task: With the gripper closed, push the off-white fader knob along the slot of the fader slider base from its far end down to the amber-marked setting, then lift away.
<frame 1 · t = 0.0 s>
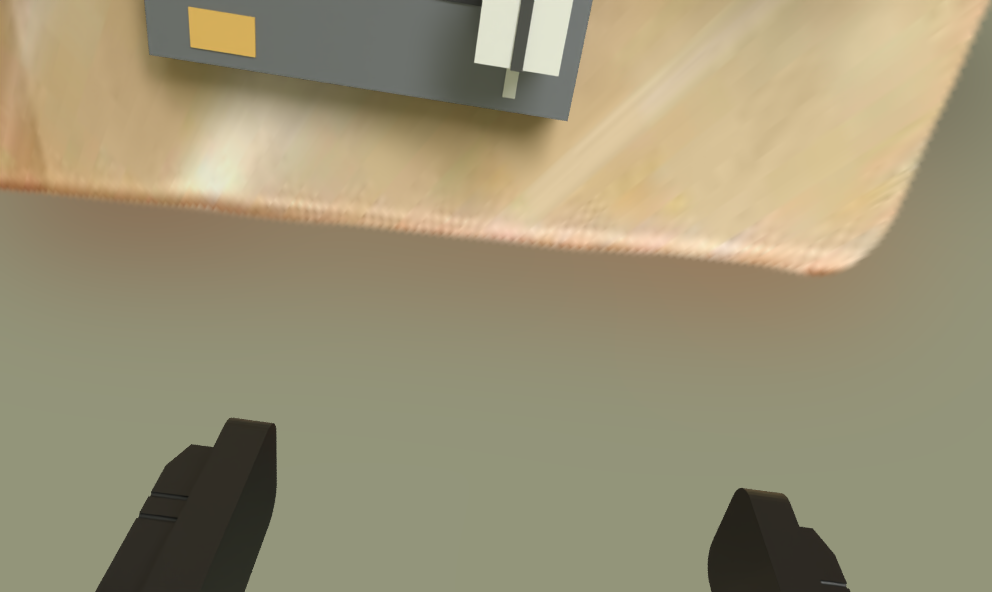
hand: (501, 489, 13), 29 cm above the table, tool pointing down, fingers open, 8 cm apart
fader knob: (523, 15, 32), point 5 cm above the table, slide at 0.0 cm
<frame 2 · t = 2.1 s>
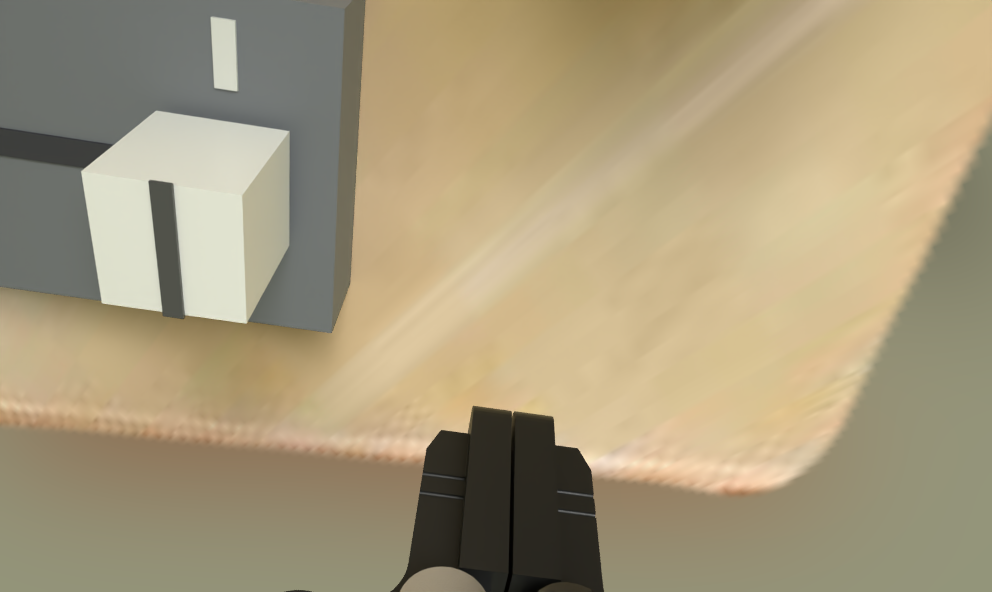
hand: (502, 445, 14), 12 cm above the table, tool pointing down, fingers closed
fader slider base: (35, 101, 23), on the table
fader knob: (199, 214, 19), point 5 cm above the table, slide at 0.0 cm
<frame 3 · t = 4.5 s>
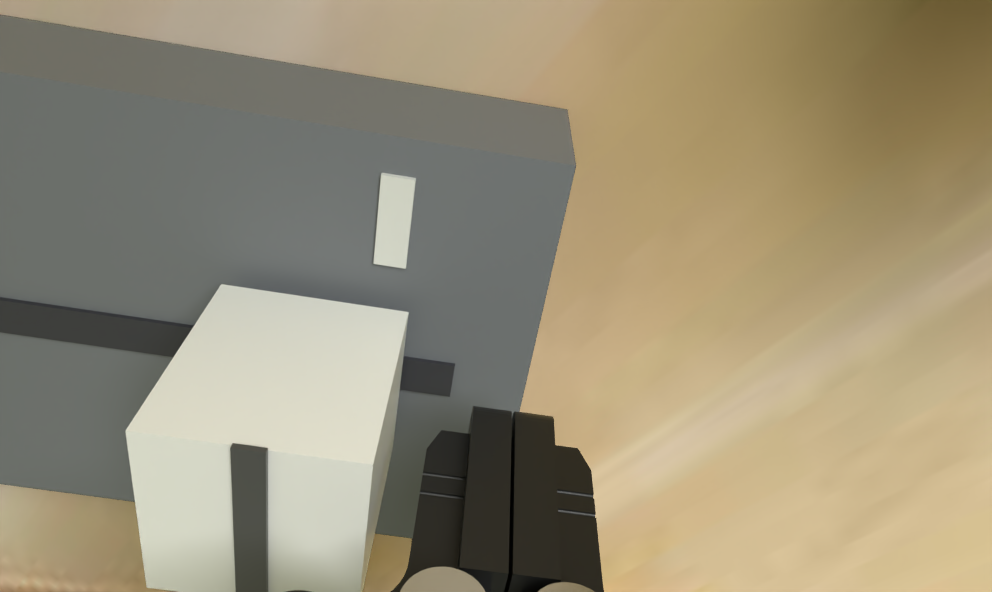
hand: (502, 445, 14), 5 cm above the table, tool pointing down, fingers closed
fader slider base: (101, 246, 18), on the table
fader knob: (285, 442, 13), point 5 cm above the table, slide at 1.3 cm, touching gripper
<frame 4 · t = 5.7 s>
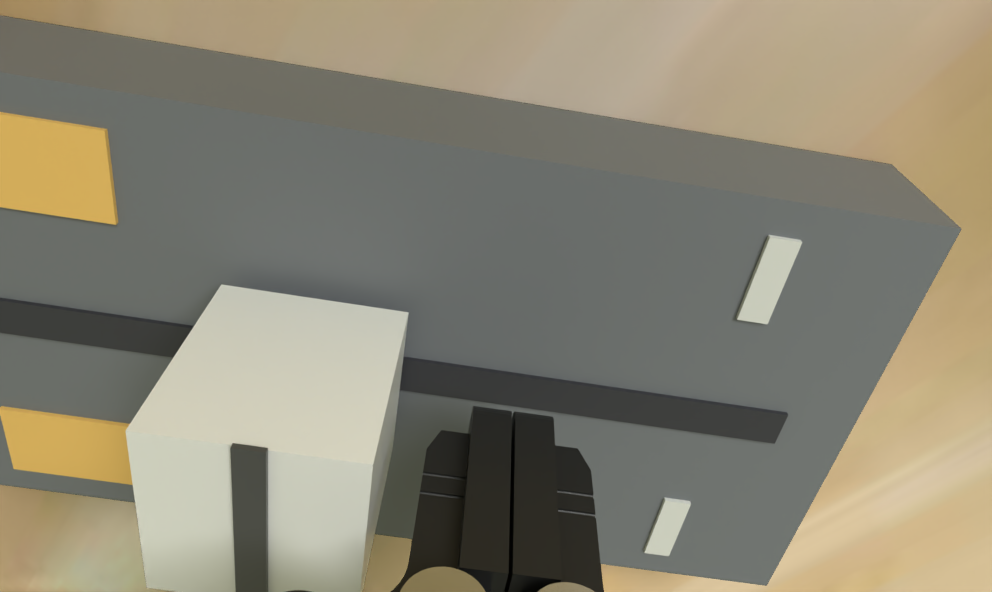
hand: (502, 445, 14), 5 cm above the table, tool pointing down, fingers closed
fader slider base: (399, 291, 18), on the table
fader knob: (285, 443, 13), point 5 cm above the table, slide at 8.3 cm, touching gripper
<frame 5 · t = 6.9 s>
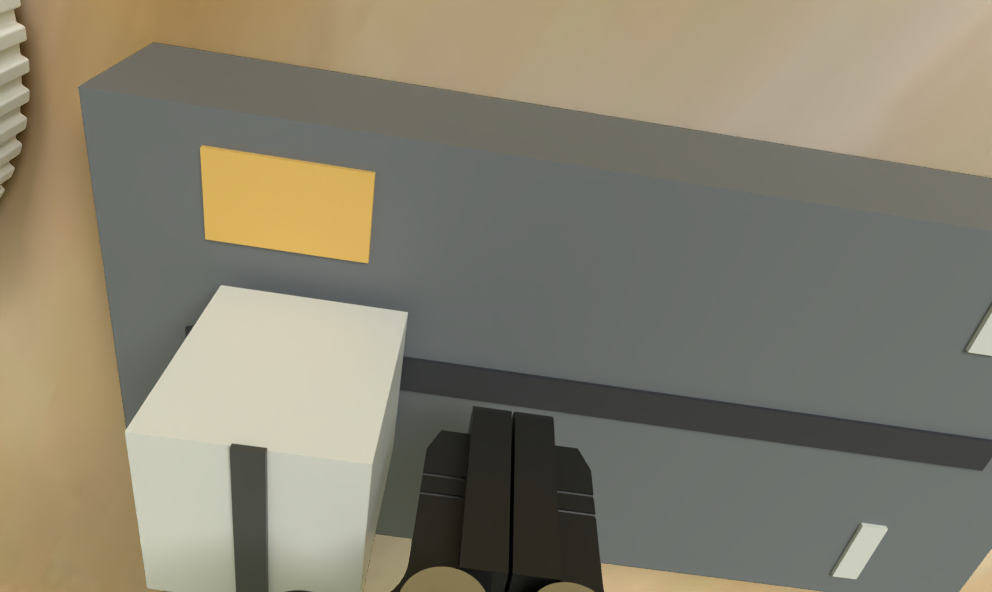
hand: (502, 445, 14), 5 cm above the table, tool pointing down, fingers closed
fader slider base: (589, 319, 18), on the table
fader knob: (285, 443, 13), point 5 cm above the table, slide at 12.9 cm, touching gripper
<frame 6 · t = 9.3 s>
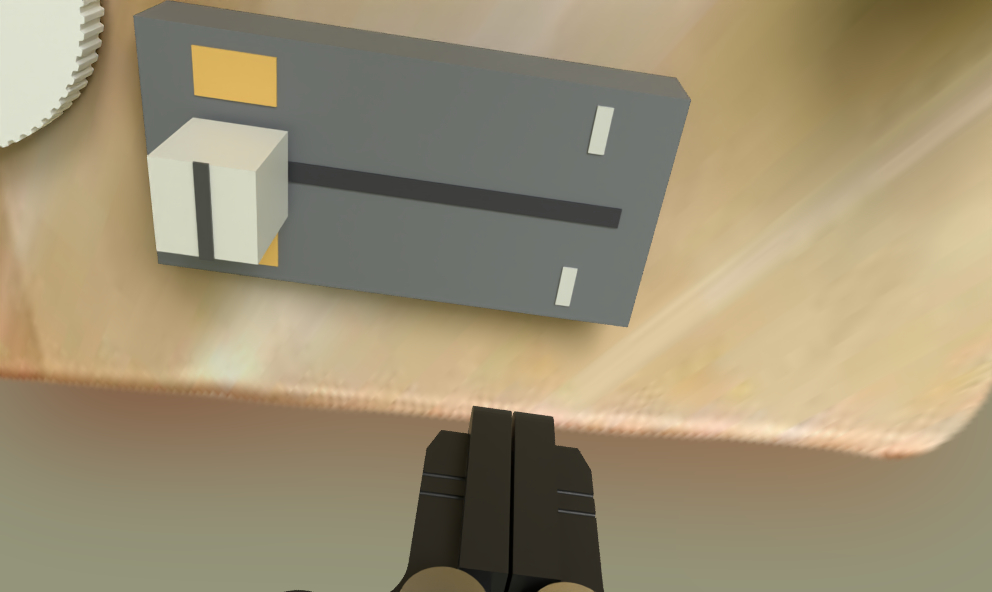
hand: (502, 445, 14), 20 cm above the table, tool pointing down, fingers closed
fader slider base: (415, 159, 32), on the table
fader knob: (223, 189, 27), point 5 cm above the table, slide at 13.2 cm
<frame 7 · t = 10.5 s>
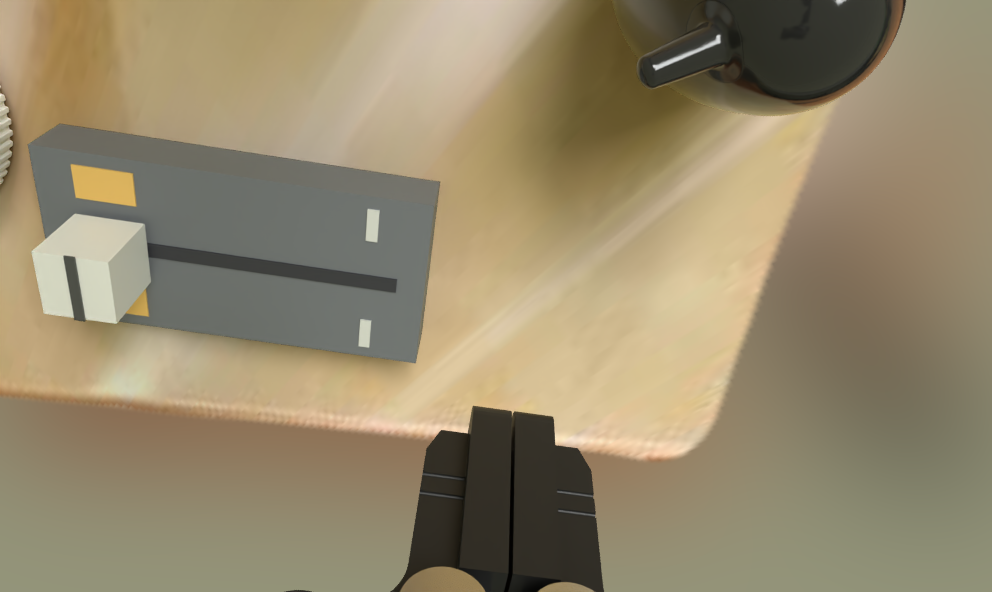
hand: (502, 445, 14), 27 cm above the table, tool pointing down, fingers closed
fader slider base: (254, 236, 43), on the table
fader knob: (95, 268, 38), point 5 cm above the table, slide at 13.2 cm
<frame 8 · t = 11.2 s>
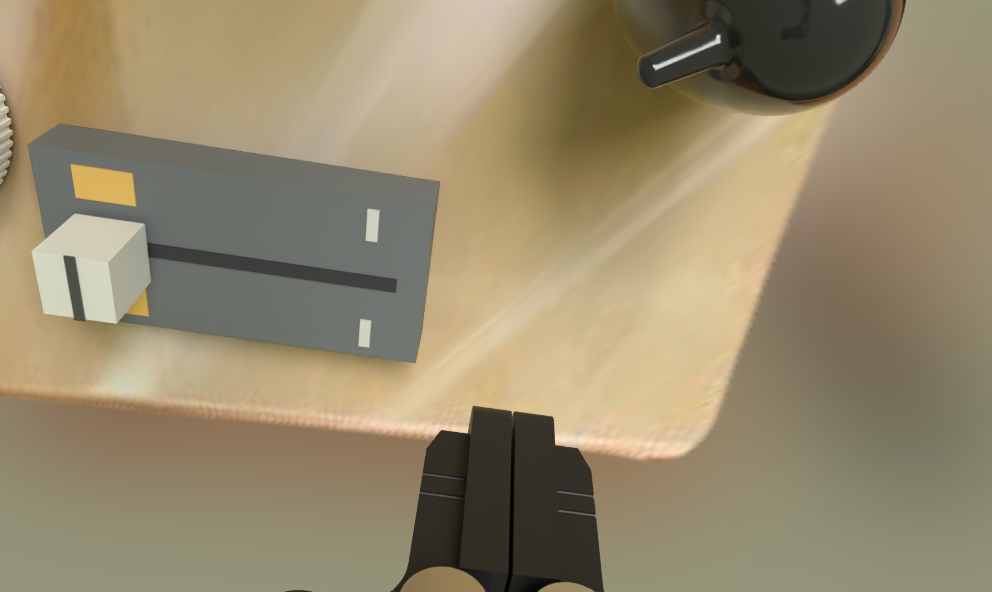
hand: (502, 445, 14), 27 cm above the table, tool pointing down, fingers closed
fader slider base: (254, 236, 43), on the table
fader knob: (95, 268, 38), point 5 cm above the table, slide at 13.2 cm
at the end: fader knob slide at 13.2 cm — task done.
